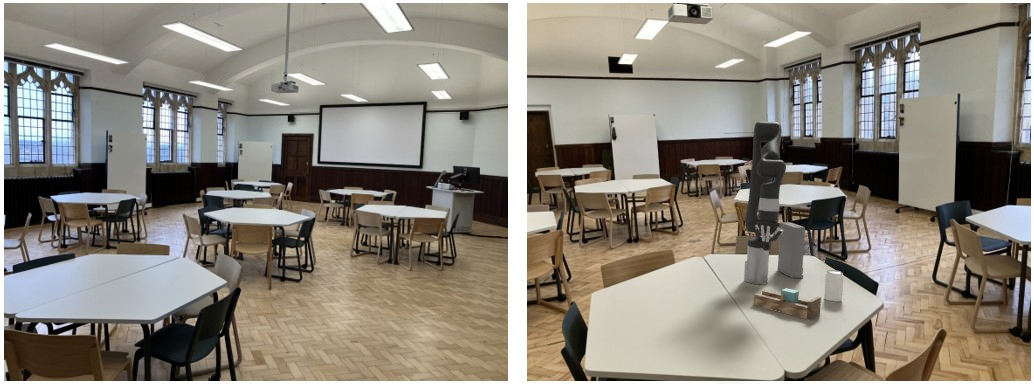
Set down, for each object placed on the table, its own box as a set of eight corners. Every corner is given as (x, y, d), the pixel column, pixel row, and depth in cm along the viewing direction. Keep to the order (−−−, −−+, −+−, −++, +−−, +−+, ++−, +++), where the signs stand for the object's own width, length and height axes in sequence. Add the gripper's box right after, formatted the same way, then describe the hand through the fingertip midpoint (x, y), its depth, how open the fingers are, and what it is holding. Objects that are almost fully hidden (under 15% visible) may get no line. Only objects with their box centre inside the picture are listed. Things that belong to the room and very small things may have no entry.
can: (844, 302, 216) (846, 274, 215) (827, 301, 217) (829, 273, 216) (838, 297, 222) (840, 270, 221) (821, 296, 224) (823, 269, 222)
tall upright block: (803, 278, 252) (807, 227, 249) (791, 278, 252) (794, 227, 249) (789, 270, 265) (792, 222, 262) (777, 270, 265) (780, 222, 262)
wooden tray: (753, 304, 214) (754, 288, 213) (763, 300, 219) (764, 284, 219) (809, 320, 197) (811, 302, 196) (819, 314, 202) (821, 297, 201)
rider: (780, 302, 207) (781, 290, 207) (785, 300, 210) (785, 288, 209) (793, 305, 204) (794, 293, 203) (798, 303, 206) (798, 291, 205)
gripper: (748, 207, 214) (746, 248, 216) (780, 212, 204) (778, 255, 206) (757, 206, 219) (755, 246, 221) (789, 210, 208) (786, 252, 211)
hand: (766, 250), depth 214 cm, fingers closed
